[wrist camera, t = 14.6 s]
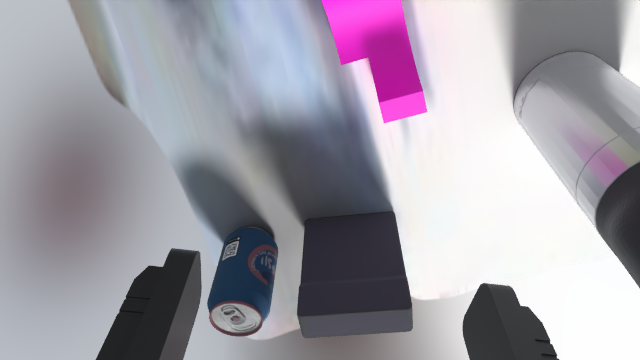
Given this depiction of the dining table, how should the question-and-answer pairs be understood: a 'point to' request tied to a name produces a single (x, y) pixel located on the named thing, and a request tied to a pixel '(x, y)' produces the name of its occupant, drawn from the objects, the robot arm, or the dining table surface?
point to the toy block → (379, 51)
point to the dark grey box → (353, 277)
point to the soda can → (243, 282)
